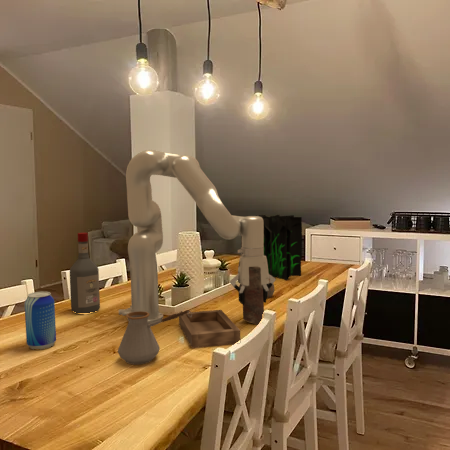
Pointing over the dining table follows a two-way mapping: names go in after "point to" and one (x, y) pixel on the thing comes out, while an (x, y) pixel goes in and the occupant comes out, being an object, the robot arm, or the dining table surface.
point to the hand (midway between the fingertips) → (253, 302)
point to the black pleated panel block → (283, 245)
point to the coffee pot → (141, 338)
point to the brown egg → (270, 291)
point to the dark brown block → (253, 297)
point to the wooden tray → (209, 328)
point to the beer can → (40, 320)
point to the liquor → (84, 280)
